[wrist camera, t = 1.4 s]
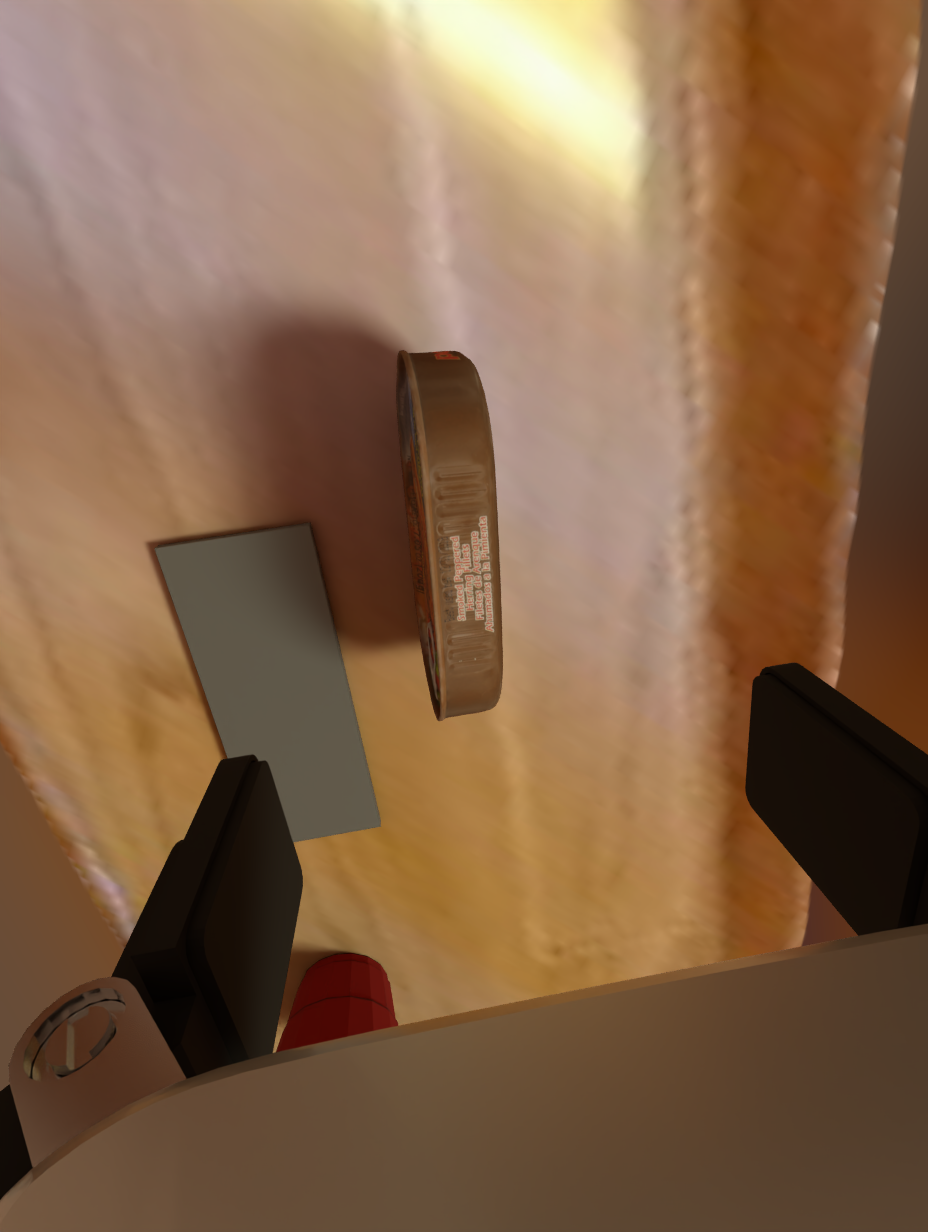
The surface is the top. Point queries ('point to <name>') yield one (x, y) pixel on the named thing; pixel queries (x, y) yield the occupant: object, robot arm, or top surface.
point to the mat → (275, 670)
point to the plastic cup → (339, 1002)
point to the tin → (452, 528)
